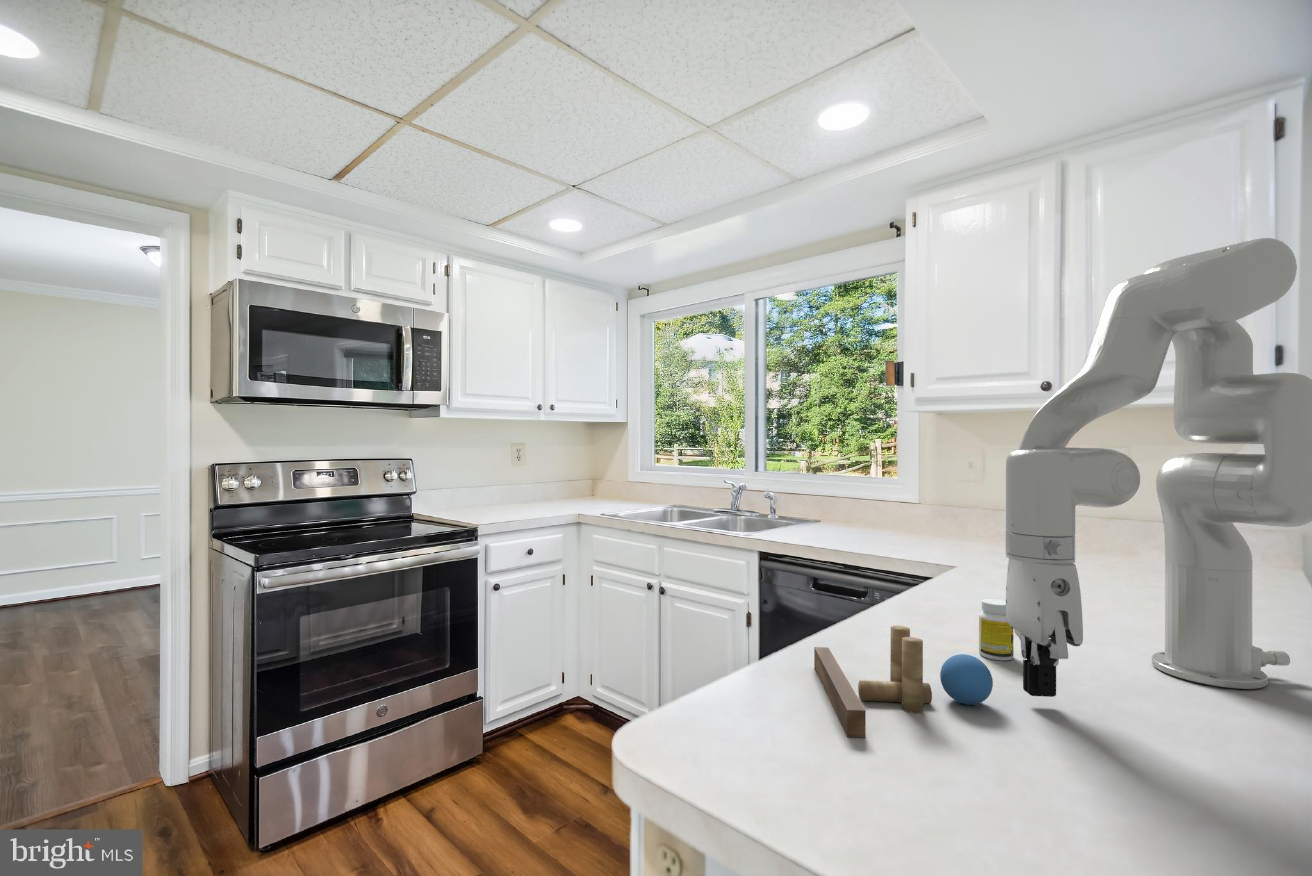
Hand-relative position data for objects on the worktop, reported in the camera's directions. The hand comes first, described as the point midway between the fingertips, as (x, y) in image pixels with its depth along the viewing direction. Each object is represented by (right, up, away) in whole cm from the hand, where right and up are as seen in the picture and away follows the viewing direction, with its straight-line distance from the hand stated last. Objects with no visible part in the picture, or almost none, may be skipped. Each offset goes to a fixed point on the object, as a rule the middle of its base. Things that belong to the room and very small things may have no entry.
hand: (1039, 693), depth 80 cm
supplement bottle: (+5, -2, +19) cm, 19 cm away
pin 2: (-16, -1, -1) cm, 17 cm away
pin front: (-13, 0, +1) cm, 14 cm away
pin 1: (-16, -1, +4) cm, 17 cm away
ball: (-9, +1, +1) cm, 9 cm away
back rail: (-25, -1, +2) cm, 25 cm away
